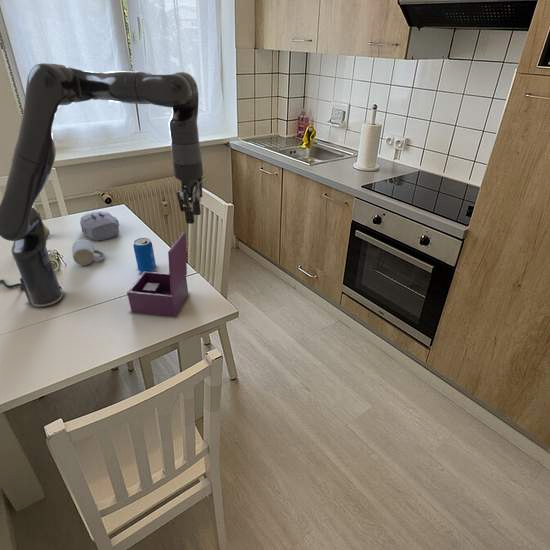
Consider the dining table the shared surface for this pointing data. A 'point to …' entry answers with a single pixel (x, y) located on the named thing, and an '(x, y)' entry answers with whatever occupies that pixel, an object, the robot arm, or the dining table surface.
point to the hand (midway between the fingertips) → (193, 218)
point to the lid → (177, 263)
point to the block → (152, 288)
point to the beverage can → (144, 255)
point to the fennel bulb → (44, 227)
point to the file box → (157, 295)
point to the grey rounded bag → (99, 225)
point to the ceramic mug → (85, 252)
